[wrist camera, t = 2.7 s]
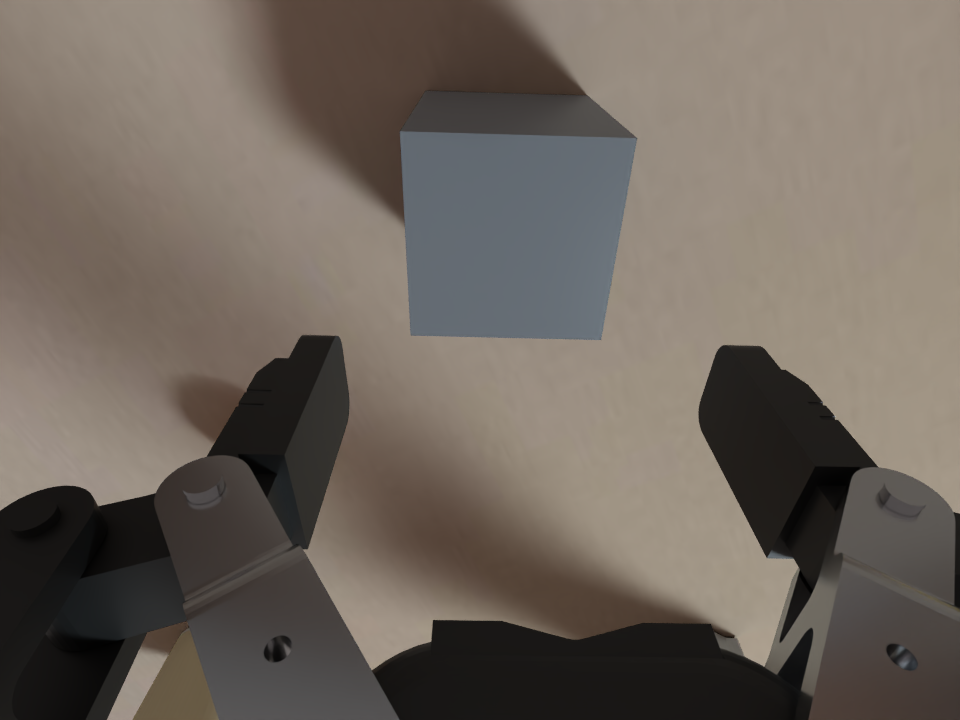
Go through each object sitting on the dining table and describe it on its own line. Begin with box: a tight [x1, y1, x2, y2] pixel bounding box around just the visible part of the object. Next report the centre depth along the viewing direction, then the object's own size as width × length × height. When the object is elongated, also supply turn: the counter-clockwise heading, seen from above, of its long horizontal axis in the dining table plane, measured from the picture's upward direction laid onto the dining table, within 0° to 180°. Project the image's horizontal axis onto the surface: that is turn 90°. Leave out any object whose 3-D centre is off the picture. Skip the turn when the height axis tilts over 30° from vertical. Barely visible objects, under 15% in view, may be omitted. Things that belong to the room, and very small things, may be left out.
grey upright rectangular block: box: [400, 91, 637, 340], centre depth 21 cm, size 7×7×9 cm
